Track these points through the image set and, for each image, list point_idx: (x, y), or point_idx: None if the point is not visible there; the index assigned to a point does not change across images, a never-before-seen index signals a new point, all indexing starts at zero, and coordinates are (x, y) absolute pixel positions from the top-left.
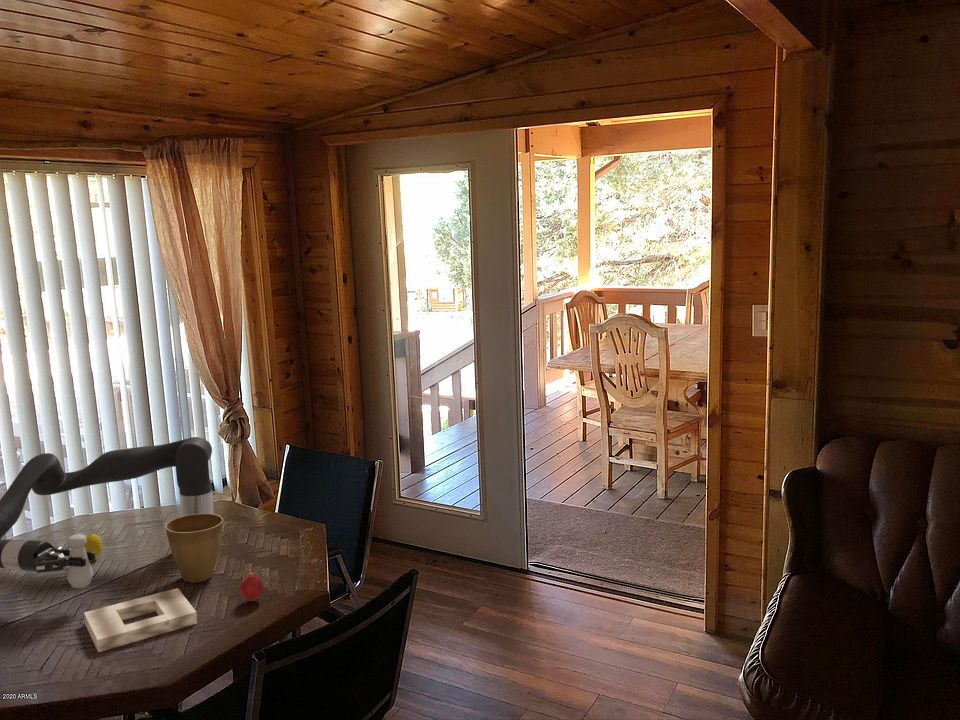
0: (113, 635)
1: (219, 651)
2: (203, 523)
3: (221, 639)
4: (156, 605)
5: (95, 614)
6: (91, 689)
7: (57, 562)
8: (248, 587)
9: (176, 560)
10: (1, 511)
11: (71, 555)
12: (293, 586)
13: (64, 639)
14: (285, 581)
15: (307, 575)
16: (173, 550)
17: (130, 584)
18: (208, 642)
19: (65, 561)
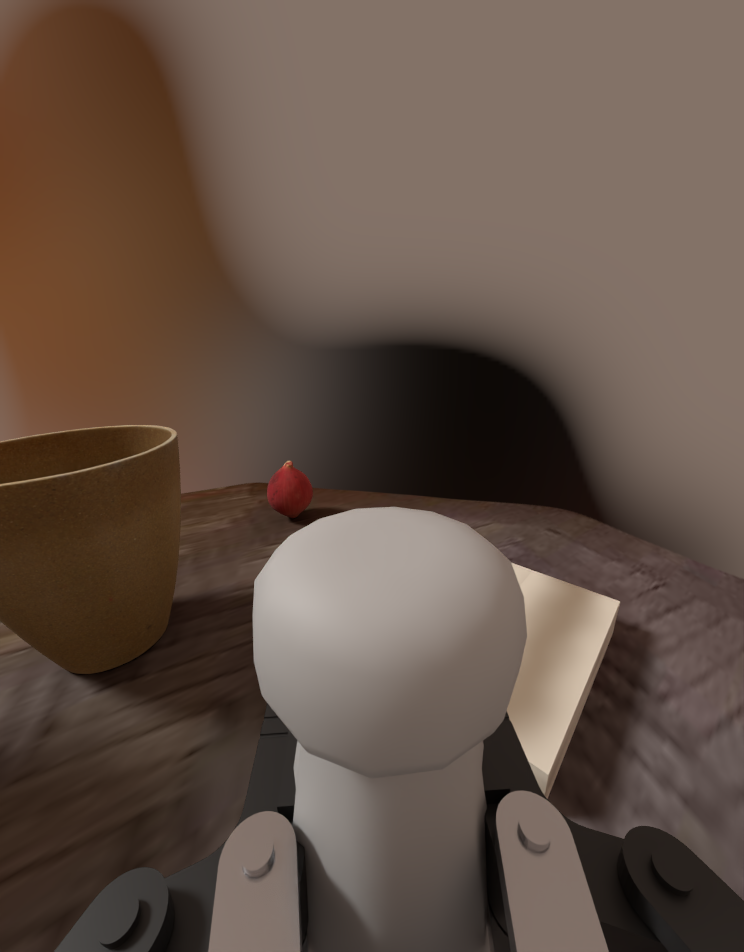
0: (571, 584)
1: (460, 501)
2: None
3: (429, 508)
4: None
5: (526, 708)
6: (693, 569)
7: (719, 891)
8: (308, 480)
9: (140, 584)
10: None
11: (481, 775)
12: (234, 500)
13: (686, 808)
14: (209, 510)
15: (190, 499)
16: (135, 546)
17: (57, 909)
18: (445, 515)
19: (582, 826)
